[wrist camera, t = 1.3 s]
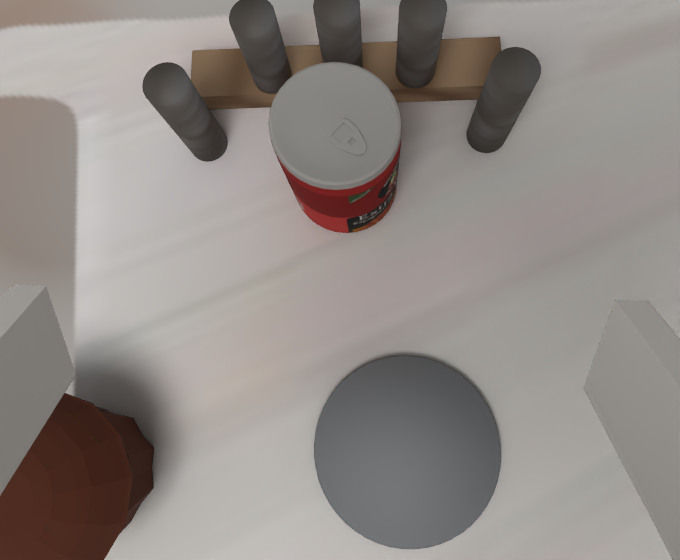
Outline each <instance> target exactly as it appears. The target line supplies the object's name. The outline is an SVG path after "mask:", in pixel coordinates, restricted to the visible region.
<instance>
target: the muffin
mask: <svg viewBox="0 0 680 560" xmlns="http://www.w3.org/2000/svg"><path fill="white" fill-rule="evenodd" d="M153 454H154V448H153V446H152V445H151V444H150V443H149V442H148V440H147V439H146V438H145V437H144V436H143V434H142V433H141V431H140V429H139V427H138V426H137V424H136V422H135V420H134V418H131V417H126V416H121V415H116V414H113V413H111V412H109V411H106V410H104V409H101V408H99V407H95V405H94V404H92V403H90V402H87V401H84V400H82V399H79V398H77V397H74V396H71V395H69V394H66V393H64V394H63V396H62V398H61V399H60V401H59V402H58V404H57V406H56V407H55V409H54V410H53V412H52V414H51V415H50V417H49V418H48V420H47V422H46V423H45V425H44V426H43V428H42V430H41V431H40V433H39V434H38V436H37V438H36V439H35V441H34V442H33V444H32V446H31V447H30V449H29V450H28V452H27V454H26V455H25V457H24V458H23V460H22V462H21V463H20V465H19V466H18V468H17V470H16V471H15V473H14V474H13V476H12V478H11V479H10V481H9V482H8V484H7V486H6V487H5V489H4V490H3V492H2V494H1V495H0V560H104V559H105V557H106V555H107V554H108V552H109V550H110V549H111V547H112V545H113V543H114V542H115V540H116V538H117V537H118V535H119V534H120V533H121V532H122V530H123V529H124V528H125V527H126V526H127V525H128V524H129V523H130V522H131V520H132V519H133V517H134V515H135V513H136V511H137V510H138V508H139V506H140V504H141V503H142V501H143V500H144V499H145V498H146V496H147V495H148V494H149V493H150V492H151V490H152V489H153V474H152V463H153Z"/></svg>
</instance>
